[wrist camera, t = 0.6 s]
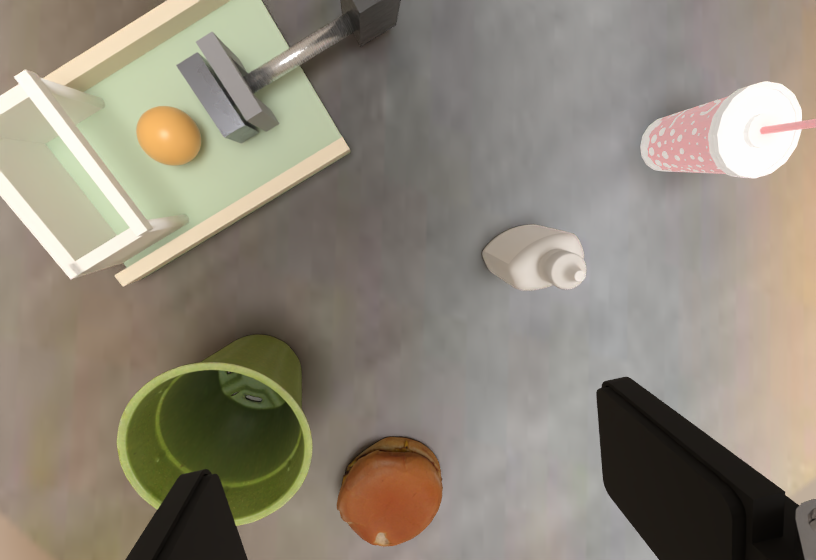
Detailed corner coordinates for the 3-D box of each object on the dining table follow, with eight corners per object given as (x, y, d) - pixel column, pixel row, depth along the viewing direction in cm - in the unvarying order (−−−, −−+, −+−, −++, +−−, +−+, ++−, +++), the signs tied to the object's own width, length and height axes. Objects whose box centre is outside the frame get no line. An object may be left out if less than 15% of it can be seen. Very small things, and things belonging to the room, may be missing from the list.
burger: (437, 428, 40) (446, 459, 36) (439, 509, 42) (448, 548, 38) (334, 438, 39) (330, 471, 35) (342, 521, 42) (339, 562, 37)
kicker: (368, -24, 30) (369, -80, 23) (403, 44, 31) (414, 7, 25) (200, 80, 30) (156, 52, 24) (241, 143, 31) (210, 132, 25)
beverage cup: (700, 104, 36) (906, 54, 22) (695, 177, 37) (885, 172, 24) (633, 109, 35) (802, 61, 22) (630, 182, 37) (786, 180, 23)
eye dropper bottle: (483, 222, 36) (539, 238, 24) (544, 224, 37) (628, 241, 25) (479, 271, 37) (531, 310, 25) (539, 272, 38) (617, 311, 26)
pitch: (248, -21, 30) (209, -90, 23) (350, 152, 34) (346, 142, 26) (20, 121, 31) (-92, 100, 23) (143, 278, 34) (80, 304, 27)
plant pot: (172, 324, 35) (85, 386, 24) (309, 296, 36) (286, 344, 25) (213, 444, 38) (151, 548, 27) (340, 415, 39) (330, 505, 28)
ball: (187, 100, 31) (162, 88, 27) (220, 149, 32) (200, 144, 28) (142, 128, 31) (110, 120, 27) (176, 176, 32) (150, 175, 28)
